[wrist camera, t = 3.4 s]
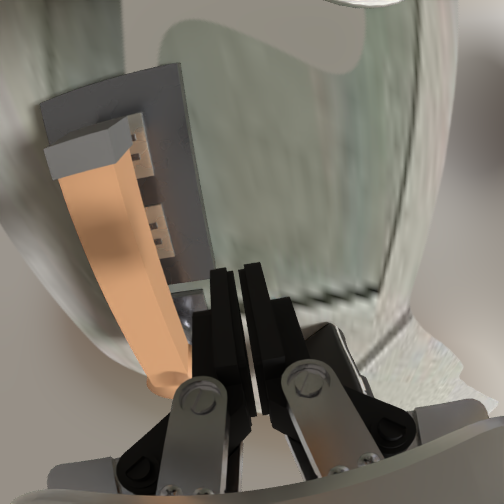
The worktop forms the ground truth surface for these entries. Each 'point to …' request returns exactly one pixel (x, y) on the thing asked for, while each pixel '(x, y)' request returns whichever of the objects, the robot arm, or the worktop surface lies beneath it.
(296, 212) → the worktop surface
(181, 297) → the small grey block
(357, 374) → the battery charger
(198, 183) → the label panel
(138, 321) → the swing bar
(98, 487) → the robot arm
